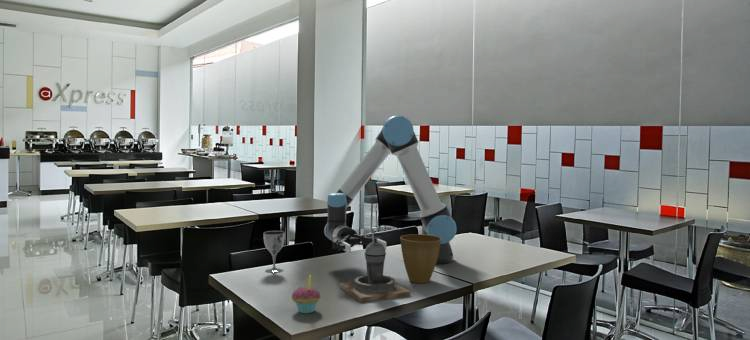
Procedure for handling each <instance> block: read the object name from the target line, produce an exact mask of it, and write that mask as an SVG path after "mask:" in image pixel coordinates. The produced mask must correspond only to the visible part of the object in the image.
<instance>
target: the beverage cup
mask: <svg viewBox="0 0 750 340" xmlns="http://www.w3.org/2000/svg"><path fill="white" fill-rule="evenodd" d="M370 229H371V236H372V240H373V242H371V243H370V244H366V247H365V251H364V257H365V261H366V262H365V264H366V275H367V279H368V284H372V285H379V284H382V278H383V275H384V269H385V266H384V265H385V261H386V260H385V259H386V255H387V252H386V250H385V248H384V246H383V245H382V244H381V243H379V242H374V229H373V228H370Z"/></svg>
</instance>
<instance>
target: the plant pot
mask: <svg viewBox="0 0 750 340" xmlns="http://www.w3.org/2000/svg"><path fill="white" fill-rule="evenodd" d="M399 237H400V246H401V248H400V249H401V253H402V254H401V255H402V258H403V259H402V260H403V263H404V267H405V271H406V274H407V278H408V280H409V282H412V283H416V284H427V283H429V282H430V281H431V279H432V275H433V273H434V271H435V267H436V265H437V264H436V261H437V258H438V254H439V249H440V243H441V238H440V237H437V236H432V235H423V234H422V233H420V234H418V233H417V234H415V233H414V234H405V235H404V234H403V235H401V236H399Z"/></svg>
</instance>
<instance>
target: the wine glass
mask: <svg viewBox="0 0 750 340" xmlns="http://www.w3.org/2000/svg"><path fill="white" fill-rule="evenodd" d="M285 235H286V234H285V231H283V230H267V231H264V232H263V243H264V246H265V249H267V251H268V252H269V253H270V254H271V257H272V263H273V264H272V268H266V269H265V271H264V272H265V273H269V274H276V273H279V274H280V273H282V272H284V269H283V268H280V267H278V268H277V267H276V258H277V255H278V253H279V252H280V251H281V249H282V248H283V246H284V244H285Z"/></svg>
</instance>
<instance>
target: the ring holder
mask: <svg viewBox="0 0 750 340" xmlns="http://www.w3.org/2000/svg"><path fill="white" fill-rule="evenodd" d="M339 285H340V287H339V288H341V289H342V290H343V291H344V292H345V293H347V294H348V295H350V296H351V297H352V298H353V299H355V300H356V301H357V302H358V303H367V302H375V301H382V300H391V299H397V298H406V297H410V296H411V291H410V290H408V289H407V288H405V287H403V286H401V285H400V284H398V283H396V282H395V278H394V277H391V276H390V275H389V276H388V275H384V274H383V278H382V284H379V285H372V284H368V279H367V274H364V275H360V276H357V277H355V278H354V281H347V282H340V284H339Z"/></svg>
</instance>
